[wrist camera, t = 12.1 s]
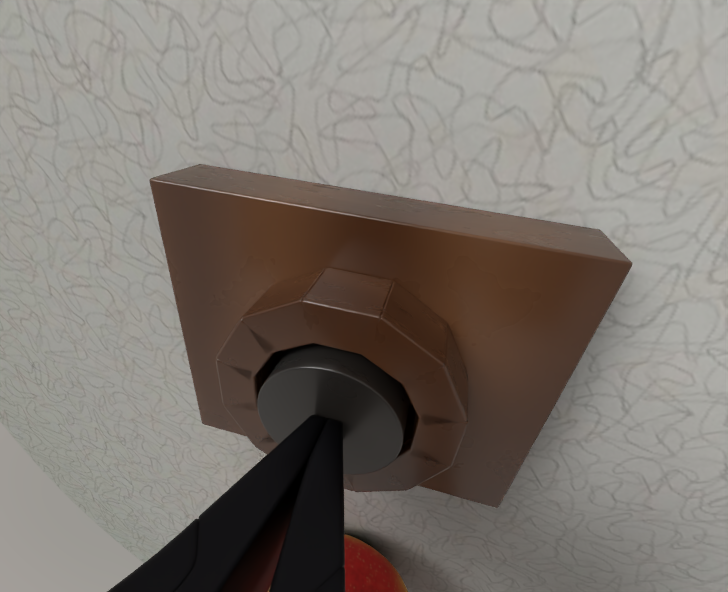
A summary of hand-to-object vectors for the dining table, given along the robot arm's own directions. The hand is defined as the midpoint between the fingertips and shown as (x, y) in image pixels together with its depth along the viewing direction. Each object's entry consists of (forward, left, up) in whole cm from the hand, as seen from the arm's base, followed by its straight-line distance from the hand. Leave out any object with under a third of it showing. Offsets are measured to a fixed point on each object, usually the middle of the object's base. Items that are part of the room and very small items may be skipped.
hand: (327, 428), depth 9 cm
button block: (0, 0, -4) cm, 4 cm away
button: (0, 0, -2) cm, 2 cm away
